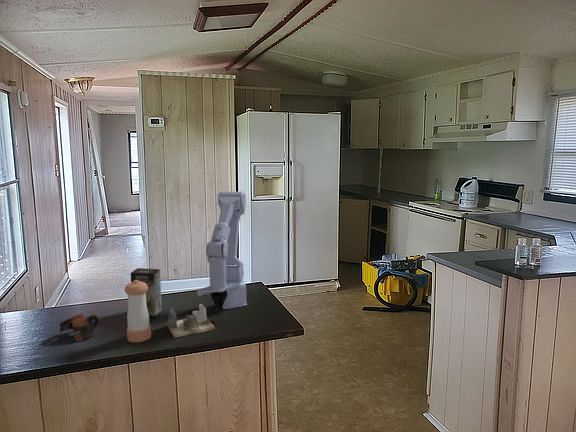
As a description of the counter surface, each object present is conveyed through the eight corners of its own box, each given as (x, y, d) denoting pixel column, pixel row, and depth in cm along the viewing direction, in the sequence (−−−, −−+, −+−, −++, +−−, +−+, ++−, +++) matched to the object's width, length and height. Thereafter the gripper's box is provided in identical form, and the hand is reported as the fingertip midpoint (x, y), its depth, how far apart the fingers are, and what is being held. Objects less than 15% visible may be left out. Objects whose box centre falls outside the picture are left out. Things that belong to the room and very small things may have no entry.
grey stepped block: (202, 316, 154) (201, 303, 154) (208, 323, 148) (207, 310, 147) (185, 319, 152) (185, 306, 151) (190, 326, 145) (190, 313, 145)
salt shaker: (128, 334, 143) (124, 277, 140) (151, 331, 145) (148, 276, 142) (126, 343, 136) (122, 284, 133) (150, 341, 138) (147, 282, 135)
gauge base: (205, 318, 156) (205, 314, 156) (214, 329, 146) (214, 325, 146) (167, 325, 150) (166, 321, 150) (174, 337, 140) (174, 333, 140)
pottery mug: (67, 347, 135) (56, 323, 136) (67, 349, 143) (56, 326, 144) (106, 328, 141) (95, 305, 142) (103, 331, 149) (93, 309, 150)
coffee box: (131, 315, 159) (129, 272, 157) (139, 308, 165) (136, 267, 163) (155, 316, 158) (153, 273, 156) (162, 309, 165) (160, 268, 162)
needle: (186, 324, 146) (186, 319, 146) (190, 328, 143) (189, 323, 143) (183, 324, 146) (183, 320, 146) (186, 329, 142) (186, 324, 142)
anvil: (173, 322, 150) (172, 308, 149) (176, 327, 145) (176, 313, 145) (168, 322, 150) (168, 309, 149) (172, 328, 145) (171, 314, 144)
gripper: (200, 280, 145) (202, 319, 148) (241, 274, 152) (242, 312, 154) (195, 275, 152) (196, 312, 154) (234, 269, 158) (235, 305, 160)
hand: (219, 311), depth 154 cm, fingers closed
